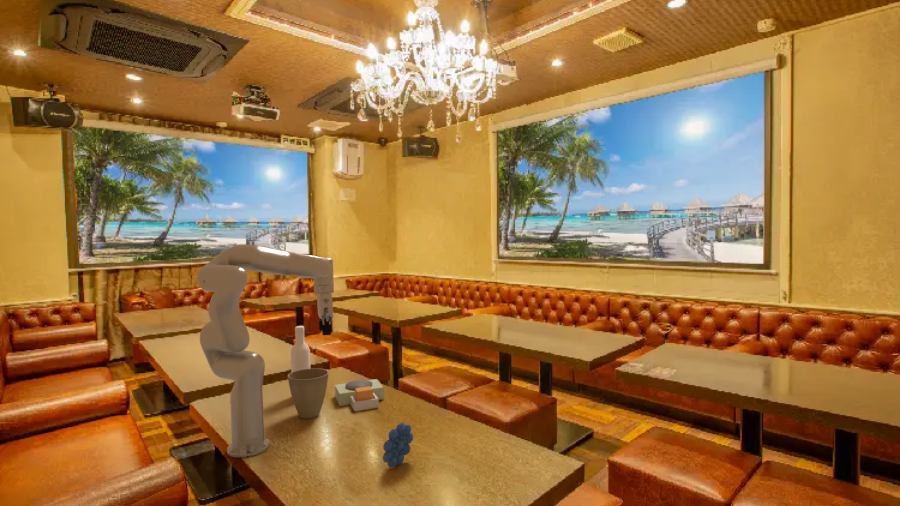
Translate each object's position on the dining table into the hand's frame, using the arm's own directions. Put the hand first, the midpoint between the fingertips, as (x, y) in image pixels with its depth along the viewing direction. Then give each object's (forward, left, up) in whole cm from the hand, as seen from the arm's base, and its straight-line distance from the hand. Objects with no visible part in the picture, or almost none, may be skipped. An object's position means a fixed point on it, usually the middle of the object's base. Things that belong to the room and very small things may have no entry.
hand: (325, 332), depth 181 cm
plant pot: (-4, +7, -30) cm, 31 cm away
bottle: (+18, +8, -30) cm, 36 cm away
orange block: (-4, -14, -30) cm, 33 cm away
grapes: (-54, -13, -30) cm, 63 cm away
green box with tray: (+2, -14, -30) cm, 33 cm away
